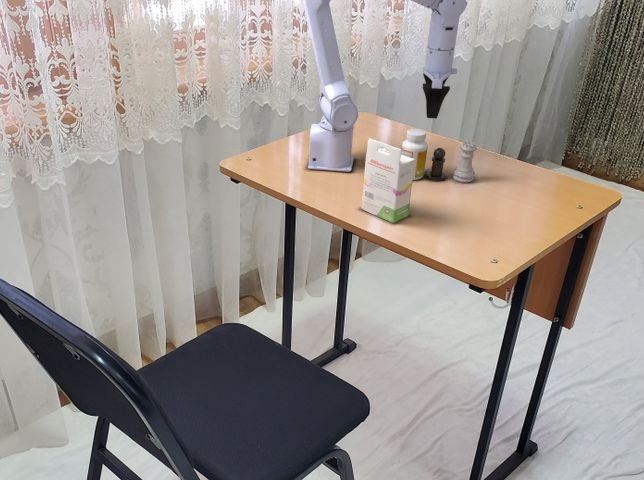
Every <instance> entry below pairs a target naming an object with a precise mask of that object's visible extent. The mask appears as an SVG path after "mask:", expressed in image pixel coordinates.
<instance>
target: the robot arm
mask: <svg viewBox="0 0 644 480" xmlns="http://www.w3.org/2000/svg"><path fill="white" fill-rule="evenodd" d="M331 1H332V0H302V5H303V9H304V14H305V19H306V22H307V27H308V32H309V37H310V42H311V45H312V51H313V54H314V60H315V64H316V68H317V73H318V78H319V81H320V84H319V86H318V88H319V99H318V109H319V111H320V112H321V114H322V117H321V119H320V122H319V123H311V127H310V132H309V145H308V155H307V156H308V165H307V169H309V170H317V171H318V170H320V171H330V172H345V173H350V172H352V169H353V163H354V160H355V156H353V155H352V153H353V142H354V141H353V140H354V139H353V138H354V128H355V127H354V126H355V124H356V122H357V120H358V117H359V110H358V109H359V108H358V107H357V105H356V104H355V103H354V101H353V100H352V97H351V93H350V90H349V88H348V85H347V83H346V80H345V76H344V71H343V70H344V69H343V66H342V65H343V64H342V61H341V56H340V51H339V46H338V41H337V36H336V31H335V25H334V19H333V16H332V11H331V6H330V3H331ZM410 1H411V2H413V3H416V4H418V5H420V6H422V7H425V8H427V9H430V10H431V15H430V22H429V27H428V36H427V46H426V51H425V59H424V66H423V68H422V76H423V78H424V82H425V83H422V90H423V93H424V96H425V110H426V111H425V113H426V118H427V119H438V116H439V114H440V111H441V108H442V105H443V102H444V100H445V98H446V96H447V95H448V94H449V92H450V90H451V86H450V85H449V86H448V85H445V84H446V82H447V80H448V79H449V77H450V76H451V75H457V74H458V68H454V67H453V63H454V57H455V49H456V43H457V36H458V30H459V23H460V17H461V15H462V14H463V13H464V12H465V10H466V8H467V6H468V1H467V0H410Z"/></svg>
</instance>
